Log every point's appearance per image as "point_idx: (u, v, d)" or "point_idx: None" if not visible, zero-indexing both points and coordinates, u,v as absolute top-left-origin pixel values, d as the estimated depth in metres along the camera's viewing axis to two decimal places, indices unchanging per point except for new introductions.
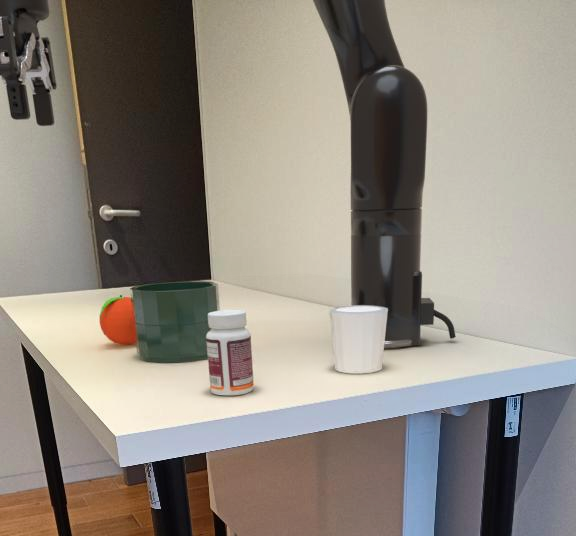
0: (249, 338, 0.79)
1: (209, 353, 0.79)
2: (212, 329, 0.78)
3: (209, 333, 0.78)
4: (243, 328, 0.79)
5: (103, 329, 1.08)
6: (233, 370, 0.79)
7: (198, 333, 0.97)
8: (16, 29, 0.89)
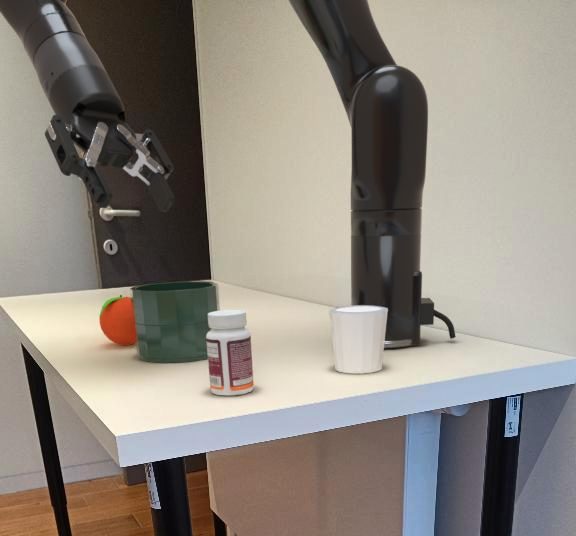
0: (249, 338, 0.79)
1: (209, 353, 0.79)
2: (212, 329, 0.78)
3: (209, 333, 0.78)
4: (243, 328, 0.79)
5: (103, 329, 1.08)
6: (233, 370, 0.79)
7: (198, 333, 0.97)
8: (77, 126, 0.83)
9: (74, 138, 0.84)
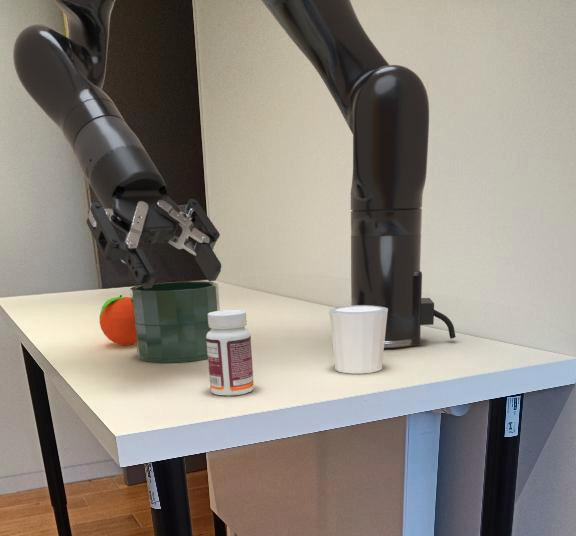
0: (249, 338, 0.79)
1: (209, 353, 0.79)
2: (212, 329, 0.78)
3: (209, 333, 0.78)
4: (243, 328, 0.79)
5: (103, 329, 1.08)
6: (233, 370, 0.79)
7: (198, 333, 0.97)
8: (117, 209, 0.82)
9: (116, 221, 0.83)
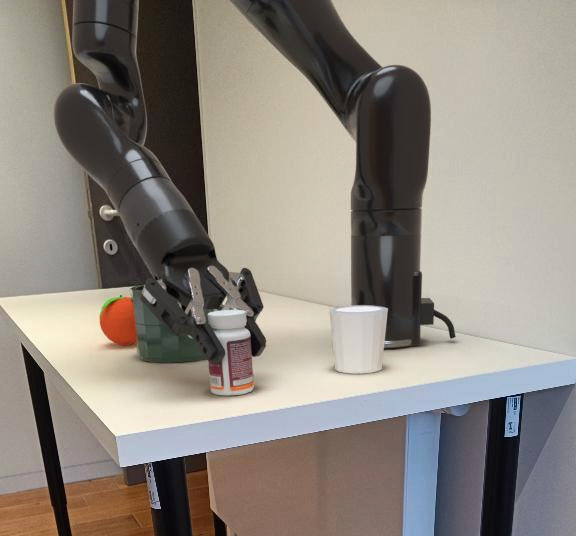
0: (249, 338, 0.79)
1: None
2: None
3: None
4: (243, 328, 0.79)
5: (103, 329, 1.08)
6: (233, 370, 0.79)
7: None
8: (169, 278, 0.78)
9: (166, 288, 0.79)
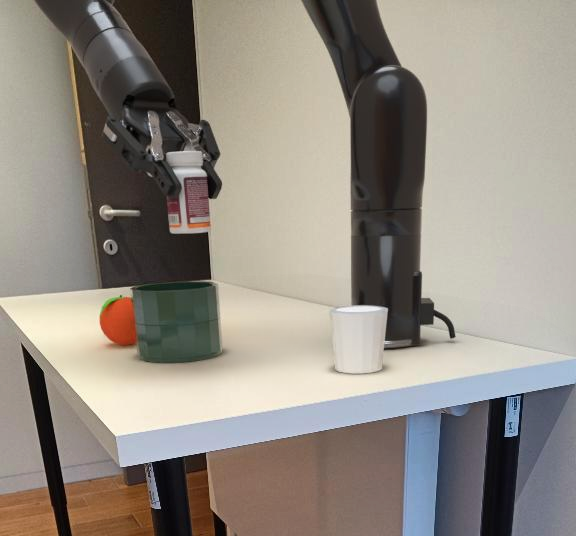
0: (205, 178, 0.84)
1: None
2: None
3: None
4: (199, 167, 0.83)
5: (103, 329, 1.08)
6: (190, 207, 0.83)
7: (198, 333, 0.97)
8: (129, 119, 0.83)
9: None
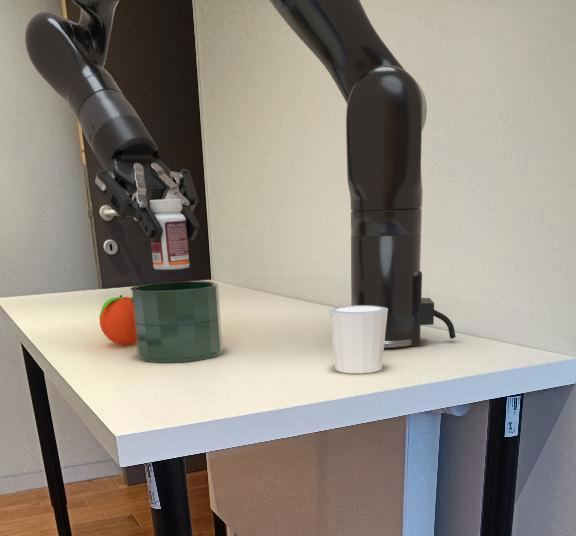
0: (184, 221, 0.96)
1: None
2: None
3: None
4: (179, 213, 0.95)
5: (103, 329, 1.08)
6: (171, 247, 0.95)
7: (198, 333, 0.97)
8: (117, 171, 0.95)
9: (115, 180, 0.96)
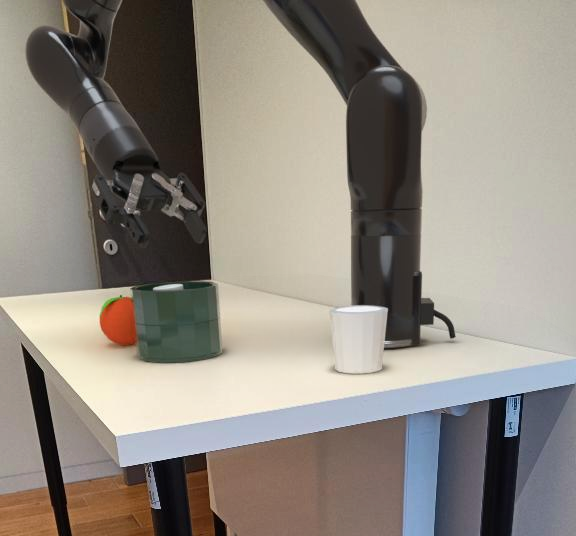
0: None
1: None
2: None
3: None
4: None
5: (103, 329, 1.08)
6: None
7: (198, 333, 0.97)
8: (117, 180, 0.95)
9: (116, 191, 0.97)
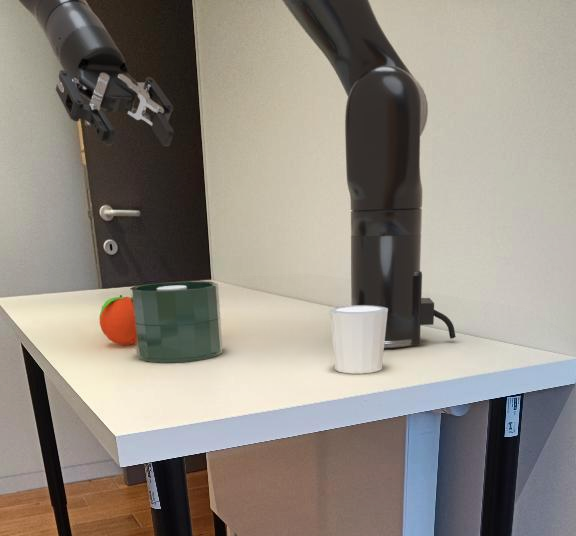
0: None
1: None
2: None
3: None
4: None
5: (103, 329, 1.08)
6: None
7: (198, 333, 0.97)
8: (82, 78, 0.95)
9: (82, 90, 0.96)
